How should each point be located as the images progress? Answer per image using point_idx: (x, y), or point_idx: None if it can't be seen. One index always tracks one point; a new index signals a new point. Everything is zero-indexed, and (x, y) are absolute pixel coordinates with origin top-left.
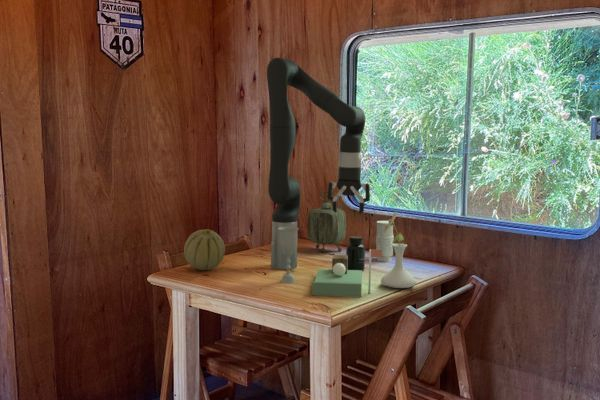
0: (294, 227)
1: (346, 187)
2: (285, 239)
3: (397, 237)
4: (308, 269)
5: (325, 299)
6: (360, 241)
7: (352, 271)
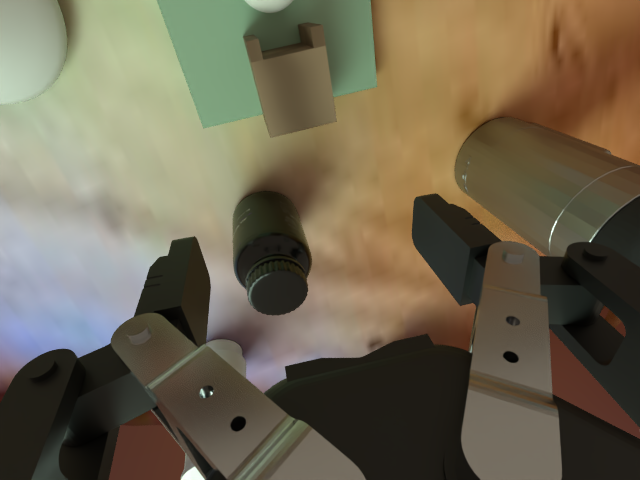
0: None
1: (462, 469)
2: None
3: None
4: (414, 160)
5: None
6: (251, 273)
7: (234, 94)
